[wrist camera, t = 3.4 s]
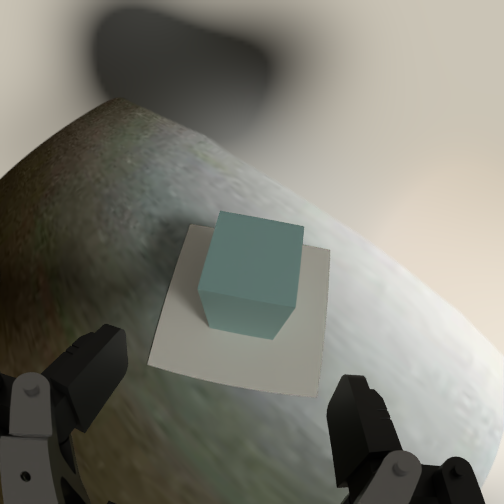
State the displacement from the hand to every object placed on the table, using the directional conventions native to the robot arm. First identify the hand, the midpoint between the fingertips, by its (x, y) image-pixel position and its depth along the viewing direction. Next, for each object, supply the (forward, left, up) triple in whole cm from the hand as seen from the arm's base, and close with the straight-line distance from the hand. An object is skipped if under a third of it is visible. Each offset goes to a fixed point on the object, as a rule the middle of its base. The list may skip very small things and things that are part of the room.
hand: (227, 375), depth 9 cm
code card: (0, +8, -16) cm, 18 cm away
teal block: (0, +8, -16) cm, 18 cm away
